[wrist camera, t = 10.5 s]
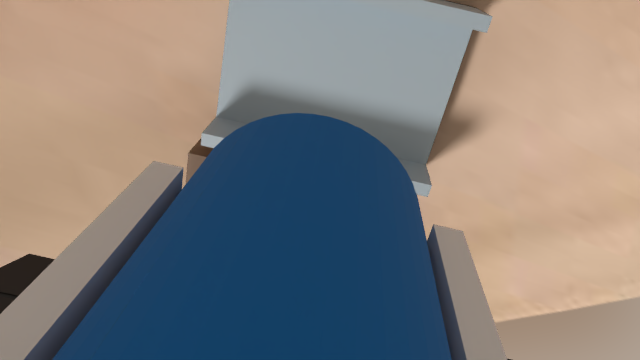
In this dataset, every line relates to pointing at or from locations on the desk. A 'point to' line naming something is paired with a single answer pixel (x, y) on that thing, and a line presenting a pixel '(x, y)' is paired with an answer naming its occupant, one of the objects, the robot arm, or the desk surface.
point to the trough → (346, 67)
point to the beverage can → (278, 258)
